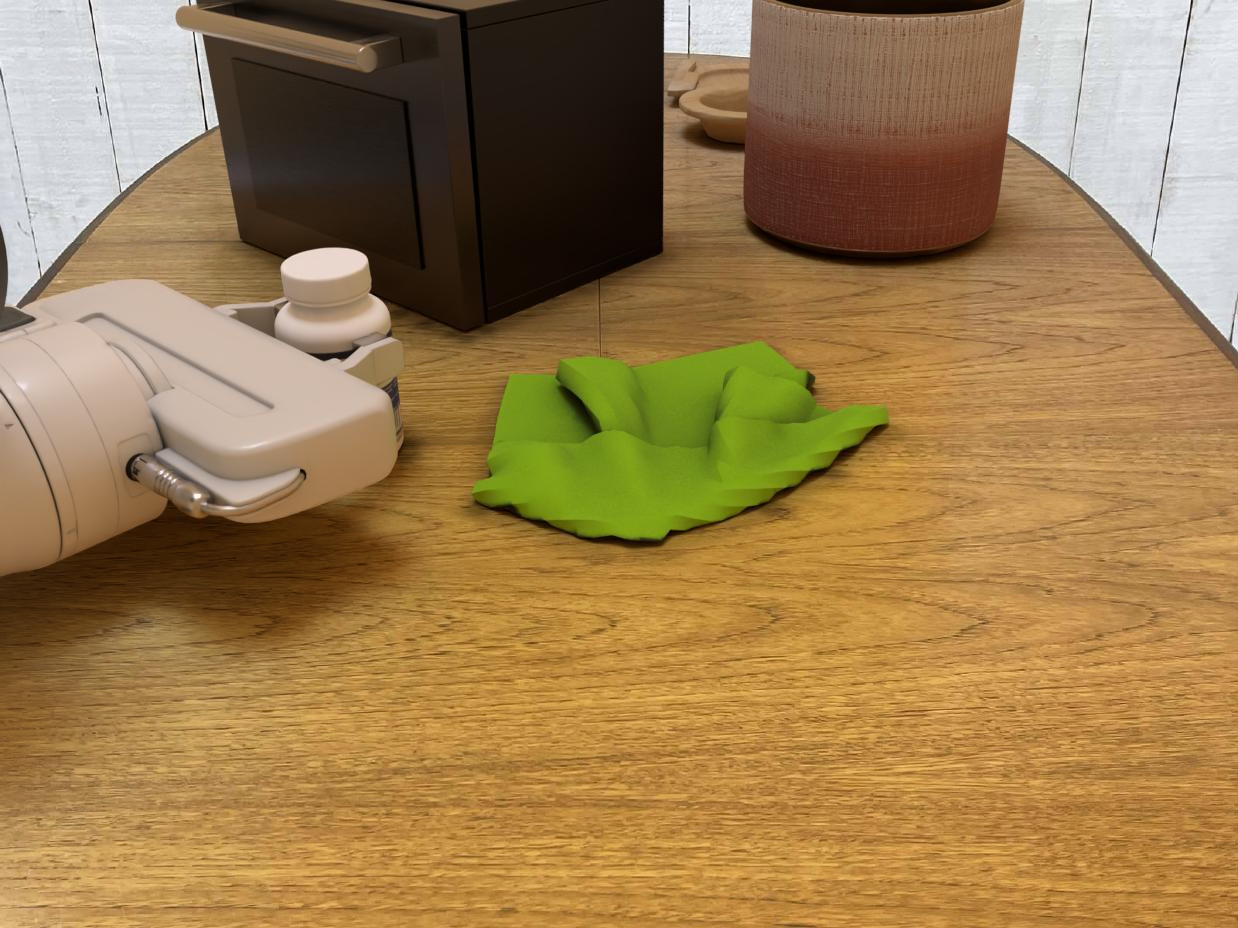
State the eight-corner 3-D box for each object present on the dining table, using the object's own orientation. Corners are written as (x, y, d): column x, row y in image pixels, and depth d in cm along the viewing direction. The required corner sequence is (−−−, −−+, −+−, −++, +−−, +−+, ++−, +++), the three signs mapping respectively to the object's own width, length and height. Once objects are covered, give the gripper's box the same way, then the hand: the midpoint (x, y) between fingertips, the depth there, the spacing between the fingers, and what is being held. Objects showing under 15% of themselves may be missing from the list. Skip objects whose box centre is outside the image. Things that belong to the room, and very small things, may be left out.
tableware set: (449, 163, 104) (445, 114, 102) (473, 79, 129) (470, 38, 127) (871, 153, 104) (875, 104, 102) (812, 72, 130) (815, 31, 128)
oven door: (423, 349, 72) (387, 30, 63) (199, 251, 86) (143, -21, 77) (485, 322, 75) (460, 14, 66) (258, 232, 89) (212, -32, 80)
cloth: (425, 530, 56) (420, 483, 55) (536, 329, 74) (534, 291, 73) (893, 570, 53) (898, 522, 51) (886, 350, 71) (890, 311, 70)
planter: (1000, 194, 95) (1032, -27, 87) (986, 279, 80) (1022, 23, 72) (769, 175, 100) (779, -35, 92) (716, 252, 85) (722, 9, 77)
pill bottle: (287, 432, 64) (257, 250, 59) (392, 414, 65) (371, 235, 61) (303, 483, 59) (271, 291, 55) (415, 462, 61) (394, 273, 56)
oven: (488, 323, 75) (466, 10, 66) (262, 234, 90) (218, -35, 80) (663, 251, 85) (665, -29, 76) (435, 181, 100) (413, -63, 91)
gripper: (196, 452, 44) (492, 328, 52) (-51, 300, 56) (222, 221, 64) (227, 599, 47) (501, 460, 55) (-13, 426, 59) (243, 333, 67)
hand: (349, 330), depth 60 cm, fingers closed on pill bottle, 5 cm apart
